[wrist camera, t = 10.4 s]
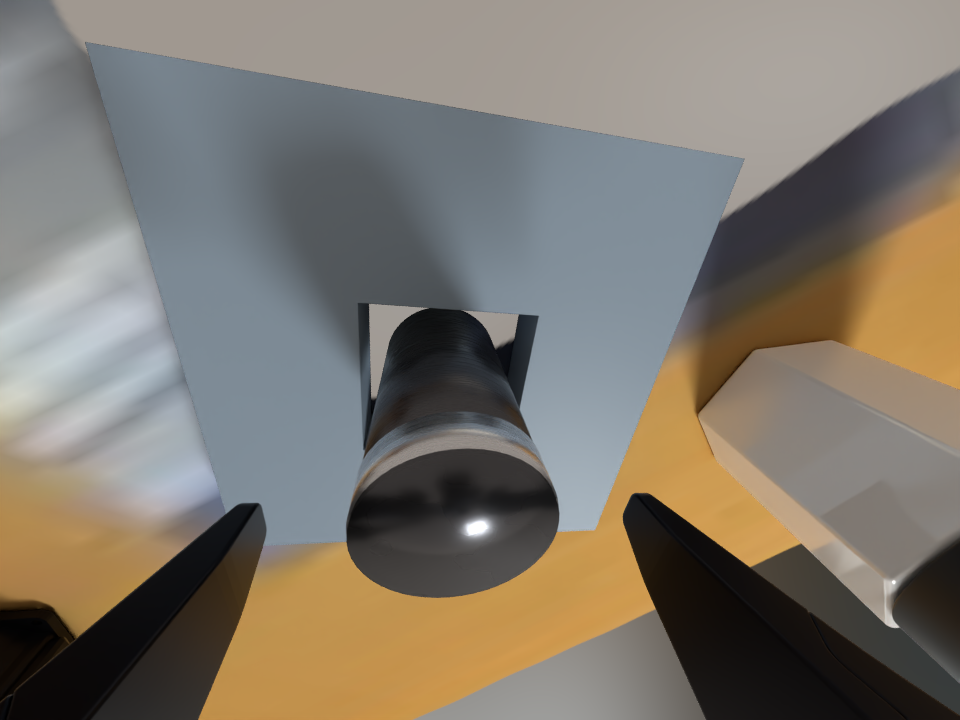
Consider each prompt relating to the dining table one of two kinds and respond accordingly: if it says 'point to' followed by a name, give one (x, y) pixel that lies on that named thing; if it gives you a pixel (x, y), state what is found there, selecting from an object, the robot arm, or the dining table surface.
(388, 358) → the lens
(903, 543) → the jar
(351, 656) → the dining table surface
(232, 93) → the mount block
